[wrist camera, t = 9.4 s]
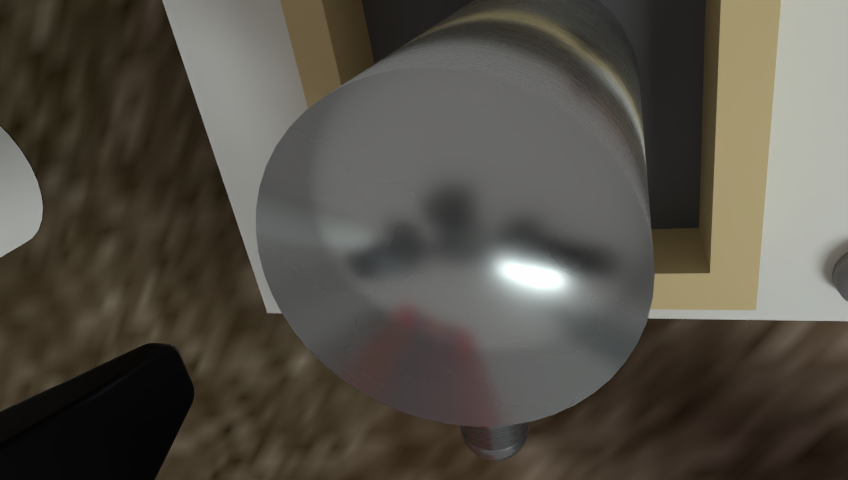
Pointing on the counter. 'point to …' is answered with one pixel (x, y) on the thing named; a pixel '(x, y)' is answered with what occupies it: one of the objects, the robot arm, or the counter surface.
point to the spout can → (471, 219)
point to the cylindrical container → (17, 197)
